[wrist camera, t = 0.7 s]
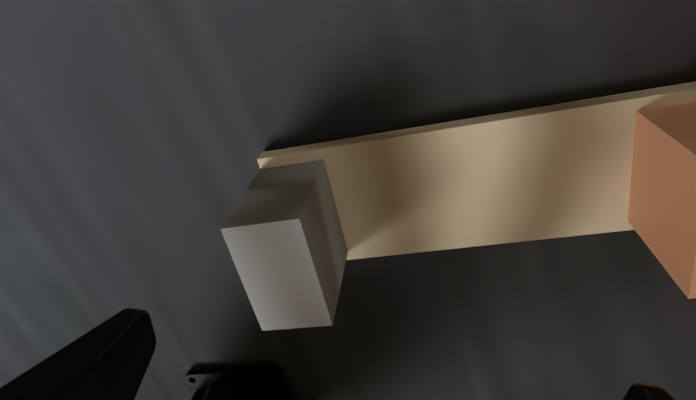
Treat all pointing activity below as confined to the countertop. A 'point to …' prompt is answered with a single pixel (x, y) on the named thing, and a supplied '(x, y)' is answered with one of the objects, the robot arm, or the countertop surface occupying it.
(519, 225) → the beige rectangular bar
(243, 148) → the countertop surface
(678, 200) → the terracotta block
